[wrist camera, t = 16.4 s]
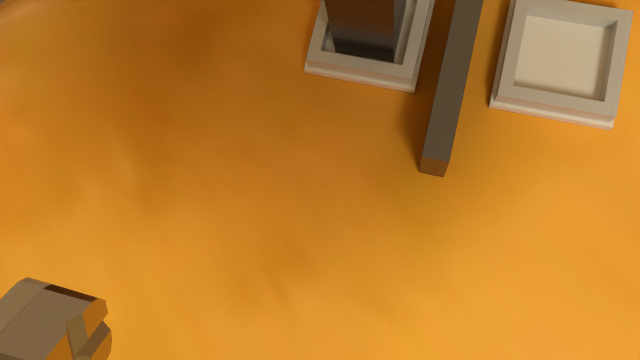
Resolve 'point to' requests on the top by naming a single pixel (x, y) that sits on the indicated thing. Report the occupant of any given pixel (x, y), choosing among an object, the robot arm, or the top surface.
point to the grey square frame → (562, 61)
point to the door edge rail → (450, 87)
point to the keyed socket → (371, 70)
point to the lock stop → (366, 27)
